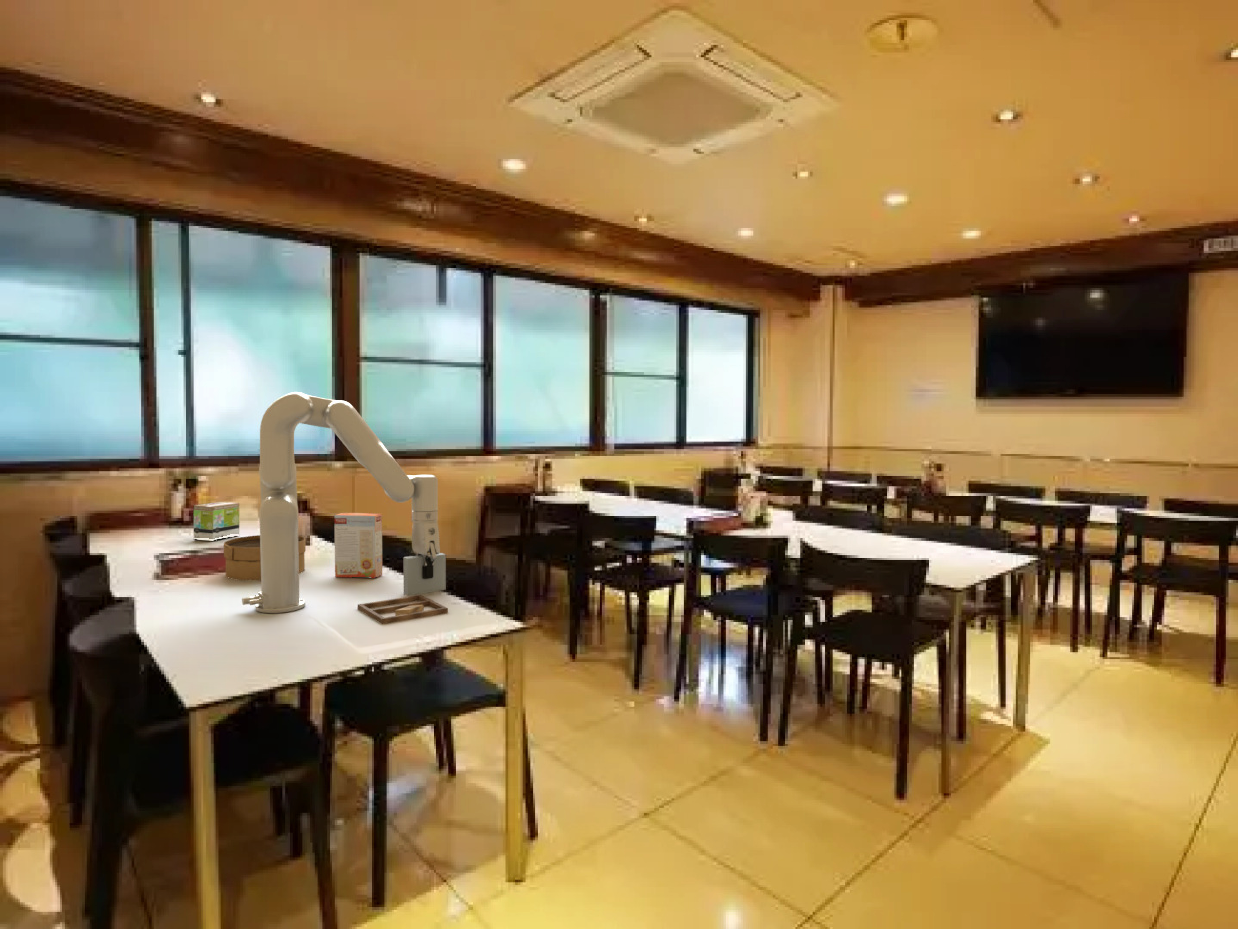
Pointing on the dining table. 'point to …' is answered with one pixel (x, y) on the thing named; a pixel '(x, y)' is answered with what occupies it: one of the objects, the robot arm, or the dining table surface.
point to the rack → (423, 601)
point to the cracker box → (358, 545)
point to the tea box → (216, 520)
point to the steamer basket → (251, 557)
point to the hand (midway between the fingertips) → (424, 576)
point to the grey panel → (414, 575)
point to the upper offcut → (409, 610)
